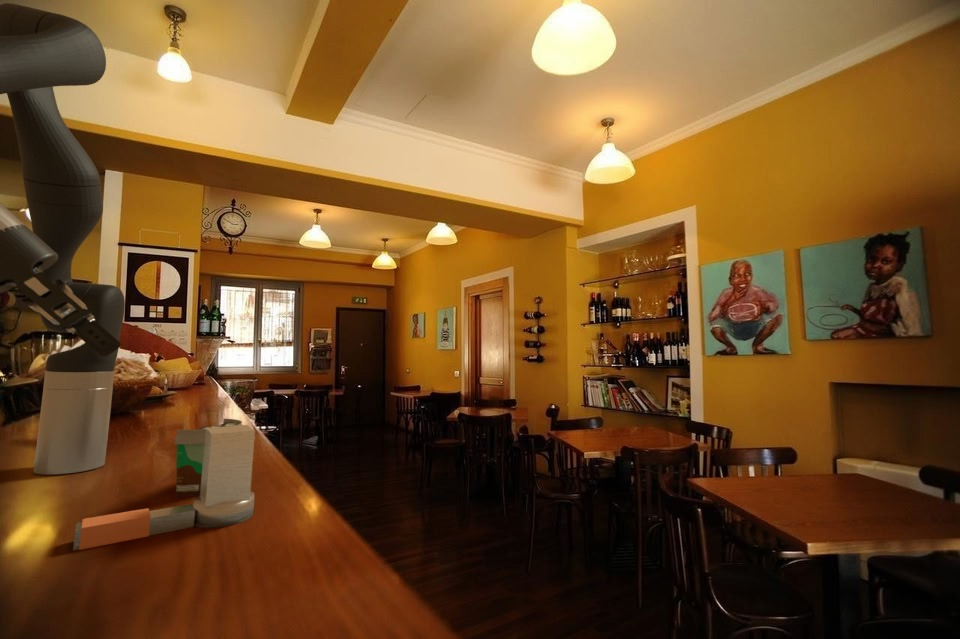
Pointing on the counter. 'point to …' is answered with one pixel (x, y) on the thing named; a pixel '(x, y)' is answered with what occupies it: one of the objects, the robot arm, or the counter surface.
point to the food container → (192, 458)
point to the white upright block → (227, 465)
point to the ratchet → (158, 522)
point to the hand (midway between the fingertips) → (113, 350)
